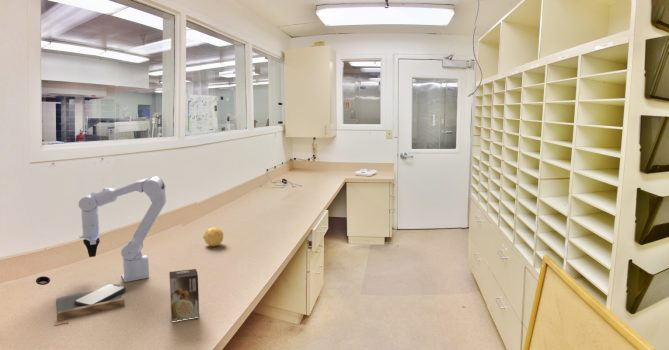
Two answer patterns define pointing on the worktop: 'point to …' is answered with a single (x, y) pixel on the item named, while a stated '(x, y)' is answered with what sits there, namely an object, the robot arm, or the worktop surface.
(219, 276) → the worktop surface
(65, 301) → the mat
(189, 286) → the coffee box
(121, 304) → the back rail
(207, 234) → the stress ball
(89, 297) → the phone case
